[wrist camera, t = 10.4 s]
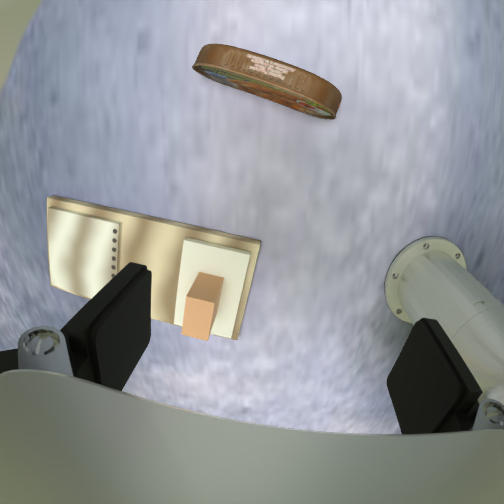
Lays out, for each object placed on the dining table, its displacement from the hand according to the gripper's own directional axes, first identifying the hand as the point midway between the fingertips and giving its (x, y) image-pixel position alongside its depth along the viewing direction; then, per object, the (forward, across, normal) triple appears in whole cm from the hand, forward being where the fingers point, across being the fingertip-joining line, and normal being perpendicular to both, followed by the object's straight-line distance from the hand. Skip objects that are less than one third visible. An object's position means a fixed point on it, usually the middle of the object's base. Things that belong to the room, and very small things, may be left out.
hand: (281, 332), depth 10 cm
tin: (+28, +4, -12) cm, 30 cm away
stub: (+26, +6, +13) cm, 30 cm away
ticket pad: (+27, +17, +13) cm, 35 cm away
